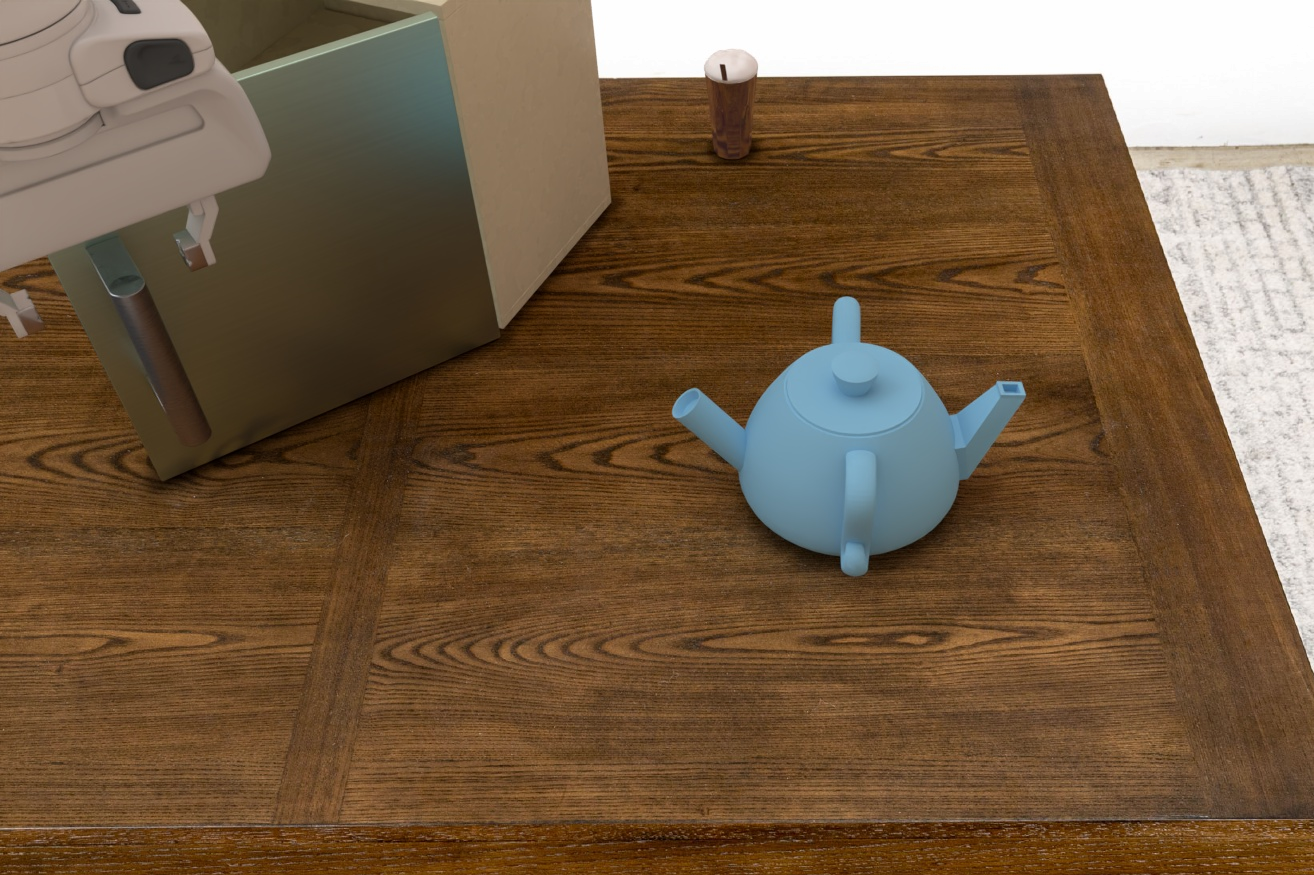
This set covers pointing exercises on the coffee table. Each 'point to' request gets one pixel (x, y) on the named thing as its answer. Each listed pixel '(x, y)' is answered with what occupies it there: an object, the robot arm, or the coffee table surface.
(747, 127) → the milkshake
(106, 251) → the fridge door
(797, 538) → the teapot
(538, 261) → the box
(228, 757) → the coffee table surface
